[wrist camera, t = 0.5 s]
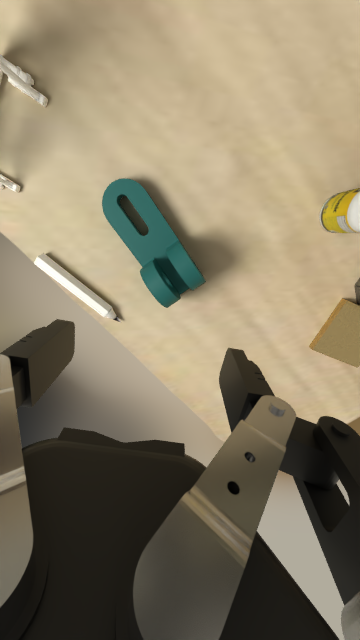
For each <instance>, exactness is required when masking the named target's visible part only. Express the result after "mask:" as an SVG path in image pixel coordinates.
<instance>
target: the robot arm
mask: <svg viewBox="0 0 360 640" xmlns="http://www.w3.org/2000/svg"><path fill="white" fill-rule="evenodd" d="M74 333H75V326H74V323H73V322H71V321H65V320H59V319H57V320H55V321H54V322H52V323H51V324H50V325H48V326H47V327H42V328H39V329H36V330H33V331H32V332H30V333H29V334H28V335H26V337H23V338H22V339H20V341H18V342H16V343H15V344H13V345H12V346H10V347H9V348H7V349H6V350H4V351H3V352H2V353H0V640H339V638H338V637H337V636H336V634H335V633H334V632H333V630H332V629H331V628H330V626H329V625H328V624H327V622H326V621H325V620H324V618H323V617H322V616H321V615H320V613H319V612H318V611H317V609H316V608H315V607H314V605H313V604H312V603H311V602H310V600H309V599H308V598H307V596H306V595H305V594H304V592H303V591H302V590H301V588H300V587H299V586H298V584H297V583H296V582H295V581H294V579H293V578H292V577H291V575H290V574H289V573H288V571H287V570H286V569H285V567H284V566H283V565H282V564H281V562H280V561H279V560H278V558H277V557H276V556H275V554H274V553H273V552H272V550H271V549H270V548H269V547H268V545H267V544H266V543H265V541H264V540H263V539H262V538H261V536H260V535H259V533H258V532H257V528H258V525H259V522H260V520H261V517H262V514H263V511H264V509H265V506H266V503H267V500H268V498H269V495H270V492H271V489H272V487H273V484H274V481H275V478H276V476H277V473H278V470H280V471H283V472H285V473H287V474H290V475H292V476H293V478H294V480H295V483H296V485H297V488H298V490H299V493H300V495H301V497H302V500H303V503H304V505H305V508H306V510H307V513H308V515H309V518H310V520H311V523H312V525H313V528H314V530H315V533H316V535H317V538H318V540H319V543H320V546H321V548H322V551H323V553H324V556H325V558H326V561H327V563H328V566H329V568H330V571H331V573H332V576H333V578H334V581H335V583H336V586H337V588H338V591H339V593H340V596H341V598H342V601H343V603H344V608H343V610H342V615H341V624H342V630H343V635H344V638H345V640H360V436H359V435H358V434H357V433H356V432H355V431H354V430H353V429H352V428H351V427H350V426H348V425H347V424H345V423H344V422H342V421H340V420H338V419H336V418H333V417H329V416H323V417H320V419H319V420H318V422H317V424H314V423H311V422H309V421H306V420H303V419H301V418H298V417H296V413H295V411H294V409H293V408H292V407H291V406H290V405H289V404H288V403H287V402H285V401H284V400H282V399H280V398H278V397H275V396H274V394H273V392H272V390H271V388H270V387H269V385H268V383H267V381H265V378H264V376H263V375H262V372H261V371H260V369H259V367H258V366H257V365H256V364H254V363H253V362H252V361H249V360H248V359H247V357H246V355H245V353H244V351H243V350H238V349H232V348H228V349H227V351H226V355H225V358H224V361H223V365H222V368H221V371H220V376H219V384H220V389H221V393H222V397H223V401H224V405H225V409H226V413H227V417H228V421H229V425H230V429H231V435H230V436H229V437H228V439H227V440H226V441H225V443H224V444H223V446H222V447H221V449H220V450H219V451H218V453H217V454H216V455H215V457H214V458H213V460H212V461H211V462H210V464H209V465H208V467H207V468H206V467H205V466H204V465H203V464H201V463H200V462H199V461H197V460H196V459H194V458H192V457H190V456H188V455H186V454H185V449H184V444H183V443H175V442H168V441H160V440H150V441H139V442H128V443H123V442H119V441H117V440H114V439H112V438H109V437H107V436H104V435H102V434H99V433H97V432H94V431H86V430H78V429H71V428H63V430H62V432H61V434H60V436H59V437H58V438H52V439H47V440H43V441H39V442H36V443H34V444H31V445H28V446H26V447H24V448H22V447H21V440H20V433H19V426H18V417H17V408H18V407H19V406H25V407H33V406H34V404H35V403H36V402H37V401H38V400H39V399H40V397H41V396H42V395H43V394H44V393H45V391H46V390H47V389H48V388H49V386H50V385H51V384H52V383H53V382H54V380H55V379H56V378H57V377H58V376H59V374H60V373H61V372H62V371H63V369H64V368H65V367H66V366H67V365H68V363H69V362H70V361H71V359H72V357H73V354H74V344H75V341H74V340H75V338H74V337H75V334H74ZM339 479H340V481H341V483H342V484H343V486H344V488H345V490H346V491H347V493H348V497H349V502H350V506H349V505H348V503H347V502H346V500H345V499H344V496H343V494H342V493H341V491H340V489H339V487H338V486H337V484H336V483H337V481H338V480H339Z"/></svg>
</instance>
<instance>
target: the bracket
mask: <svg viewBox="0 0 360 640" xmlns="http://www.w3.org/2000/svg"><path fill="white" fill-rule="evenodd" d="M124 196H127V197H128V199H129V200H130V202H131V203H132V205H133V206H134V207H135V209H136V210H137V212H138V213H139V215H140V216H141V217H142V219H143V220H144V222H145V223H146V225H147V226H148V228H149V232H148V234H147V235H145V236H144V235H142V234H141V233H140V232H139V230H138V229H137V227H136V226H135V225H134V223H133V222H132V220H131V219H130V218H129V216H128V215H127V213H126V212H125V211H124V209H123V208H122V207H121V204H120V200H121V198H122V197H124ZM102 206H103V212H104V215H105V217H106V219H107V220H108V222H109V223H110V224H111V226H112V227H113V228H114V230H115V231H116V232H117V234H118V235H119V236H120V238H121V239H122V240H123V242H124V243H125V244H126V246H127V247H128V248H129V250H130V251H131V252H132V254H133V255H134V256H135V258H136V259H137V260H138V262H139V263H140V264H141V266H142V267H143V268H142V269H141V270H140V274H141V277H142V279H143V281H144V283H145V284H146V286H147V288H148V289H149V291H150V292H151V293H152V295H153V296H154V297H155V298H156V300H157V301H158V302H159V303H160V304H161V305H163V306H164V307H166V308H168V307H169V306H171V305H172V304H174V303H175V302H177V301H178V300H180V294H182V293H183V292H185V291H186V290H187V289H189V288H190V289H191V290H192V291H193V290H194V289H196V288H197V287H199V286H200V285H202V284H203V283H205V282H206V281H205V279H204V277H203V275H202V274H201V272H200V271H199V269H198V268H197V266H196V265H195V263H194V262H193V260H192V259H191V257H190V256H189V254H188V253H187V251H186V250H185V248H184V247H183V245H182V244H181V242H180V241H179V239H178V238H177V236H176V235H175V233H174V232H173V230H172V229H171V227H170V226H169V224H168V223H167V221H166V220H165V218H164V217H163V215H162V214H161V212H160V211H159V209H158V208H157V206H156V205H155V203H154V202H153V200H152V199H151V197H150V196H149V194H148V193H147V192H146V190H145V189H144V188H143V187H142V186H141V185H140V184H139V183H137V182H136V181H134V180H131V179H118V180H116V181H114V182H112V183H111V184H110V185H109V186H108V187H107V189H106V190H105V192H104V195H103V200H102Z"/></svg>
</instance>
